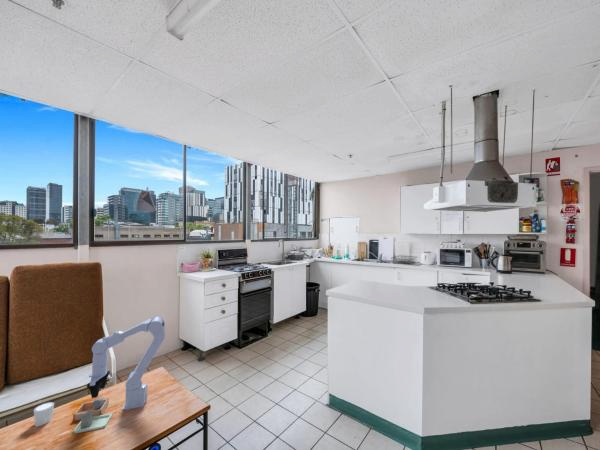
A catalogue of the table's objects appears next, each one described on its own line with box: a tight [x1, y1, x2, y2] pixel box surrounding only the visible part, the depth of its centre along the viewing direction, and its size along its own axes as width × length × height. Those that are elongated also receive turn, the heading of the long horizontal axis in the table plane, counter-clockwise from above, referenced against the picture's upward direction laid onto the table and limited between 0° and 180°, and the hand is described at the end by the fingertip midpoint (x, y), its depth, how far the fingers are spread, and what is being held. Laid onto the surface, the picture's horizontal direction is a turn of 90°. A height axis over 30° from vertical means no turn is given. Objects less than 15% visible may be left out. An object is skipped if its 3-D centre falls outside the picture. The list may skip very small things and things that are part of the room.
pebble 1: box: [80, 411, 93, 428], centre depth 115 cm, size 4×4×5 cm
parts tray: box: [72, 412, 114, 435], centre depth 116 cm, size 12×9×1 cm
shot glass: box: [33, 401, 55, 427], centre depth 118 cm, size 7×7×7 cm
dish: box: [72, 398, 110, 422], centre depth 124 cm, size 11×9×3 cm
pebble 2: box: [92, 397, 104, 410], centre depth 125 cm, size 4×4×5 cm
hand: (98, 392), depth 125 cm, fingers open, 7 cm apart
